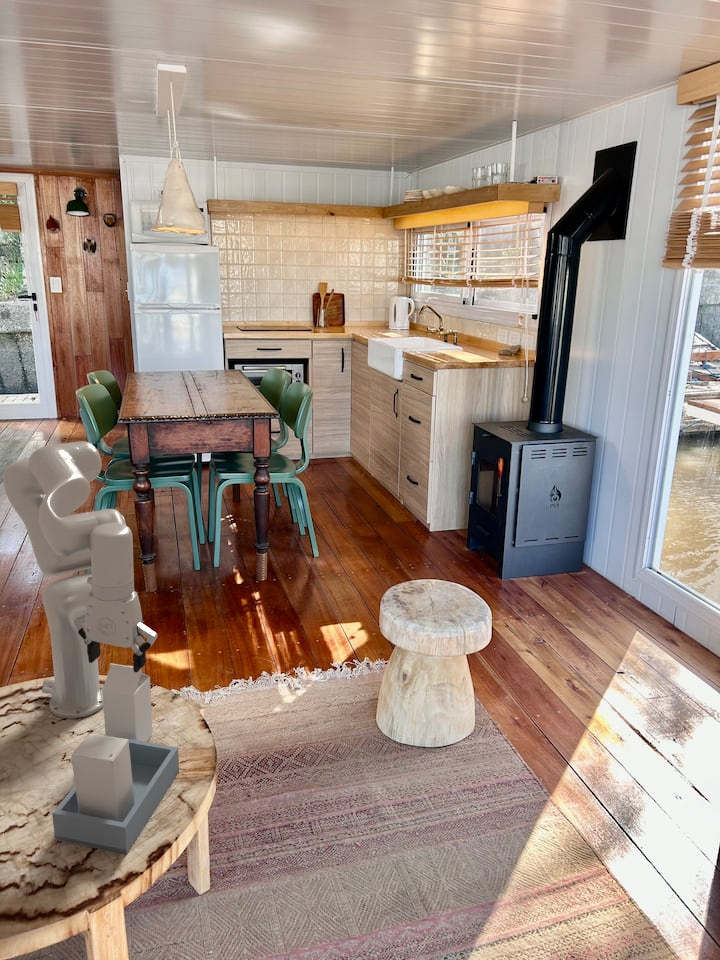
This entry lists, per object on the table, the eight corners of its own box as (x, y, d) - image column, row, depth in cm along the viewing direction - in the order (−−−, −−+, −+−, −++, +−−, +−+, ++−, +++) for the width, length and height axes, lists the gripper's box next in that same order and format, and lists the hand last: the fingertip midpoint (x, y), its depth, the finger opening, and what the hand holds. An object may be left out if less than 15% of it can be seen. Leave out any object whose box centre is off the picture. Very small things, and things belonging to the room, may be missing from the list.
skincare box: (135, 807, 140) (131, 738, 135) (117, 832, 134) (113, 761, 129) (95, 798, 141) (90, 730, 137) (76, 823, 135) (70, 753, 130)
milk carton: (137, 755, 155) (133, 678, 149) (106, 750, 156) (100, 672, 150) (152, 735, 162) (149, 659, 156) (123, 729, 163) (118, 654, 157)
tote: (55, 840, 133) (52, 813, 131) (115, 760, 153) (114, 736, 152) (126, 854, 130) (125, 827, 129) (178, 772, 151) (178, 747, 149)
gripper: (60, 588, 138) (66, 665, 144) (145, 604, 135) (147, 683, 141) (83, 570, 145) (87, 645, 151) (164, 586, 142) (165, 661, 147)
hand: (116, 663), depth 146 cm, fingers open, 9 cm apart
